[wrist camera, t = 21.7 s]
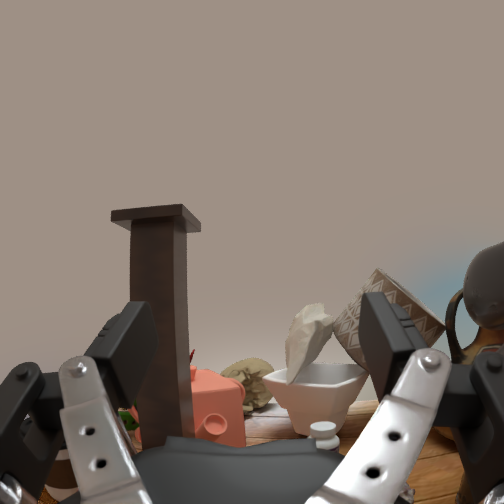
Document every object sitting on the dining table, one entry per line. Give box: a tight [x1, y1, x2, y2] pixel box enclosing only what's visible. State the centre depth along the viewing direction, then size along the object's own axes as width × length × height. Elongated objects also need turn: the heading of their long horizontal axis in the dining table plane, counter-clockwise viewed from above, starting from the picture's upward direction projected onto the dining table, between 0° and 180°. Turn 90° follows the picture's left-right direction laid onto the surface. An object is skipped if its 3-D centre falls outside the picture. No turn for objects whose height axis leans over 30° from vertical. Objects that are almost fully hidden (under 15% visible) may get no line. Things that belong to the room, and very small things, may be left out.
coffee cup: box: [19, 417, 78, 502], centre depth 32 cm, size 11×11×12 cm
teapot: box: [128, 365, 246, 448], centre depth 50 cm, size 25×23×18 cm
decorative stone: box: [285, 303, 333, 386], centre depth 64 cm, size 23×9×15 cm, turn 165°
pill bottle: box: [307, 421, 340, 453], centre depth 43 cm, size 5×5×10 cm
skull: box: [220, 358, 275, 413], centre depth 81 cm, size 14×17×20 cm
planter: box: [333, 268, 446, 372], centre depth 61 cm, size 19×19×16 cm
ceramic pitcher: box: [434, 289, 504, 440], centre depth 46 cm, size 20×20×30 cm
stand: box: [111, 204, 201, 451], centre depth 32 cm, size 8×8×39 cm
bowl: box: [262, 363, 370, 436], centre depth 61 cm, size 19×19×14 cm
